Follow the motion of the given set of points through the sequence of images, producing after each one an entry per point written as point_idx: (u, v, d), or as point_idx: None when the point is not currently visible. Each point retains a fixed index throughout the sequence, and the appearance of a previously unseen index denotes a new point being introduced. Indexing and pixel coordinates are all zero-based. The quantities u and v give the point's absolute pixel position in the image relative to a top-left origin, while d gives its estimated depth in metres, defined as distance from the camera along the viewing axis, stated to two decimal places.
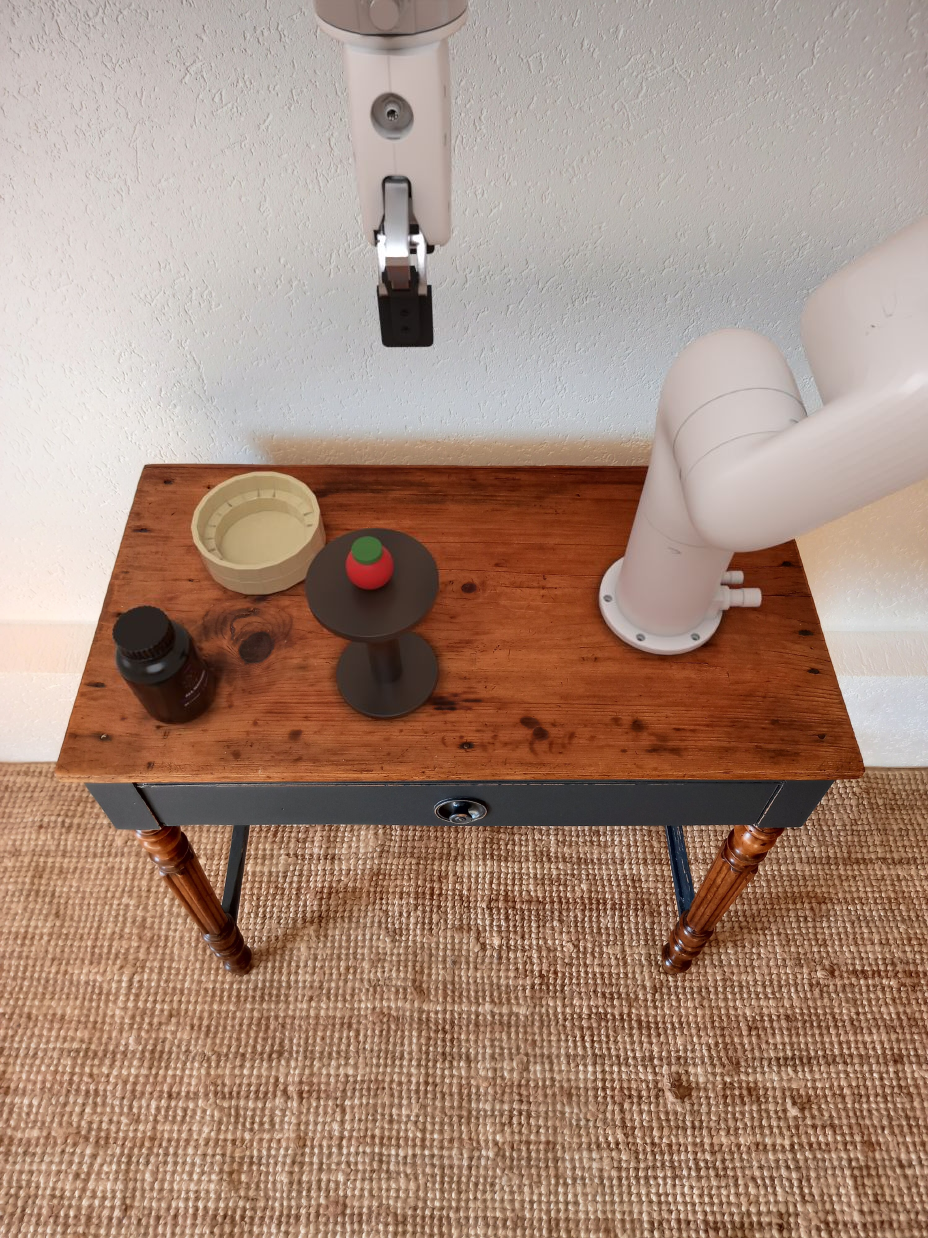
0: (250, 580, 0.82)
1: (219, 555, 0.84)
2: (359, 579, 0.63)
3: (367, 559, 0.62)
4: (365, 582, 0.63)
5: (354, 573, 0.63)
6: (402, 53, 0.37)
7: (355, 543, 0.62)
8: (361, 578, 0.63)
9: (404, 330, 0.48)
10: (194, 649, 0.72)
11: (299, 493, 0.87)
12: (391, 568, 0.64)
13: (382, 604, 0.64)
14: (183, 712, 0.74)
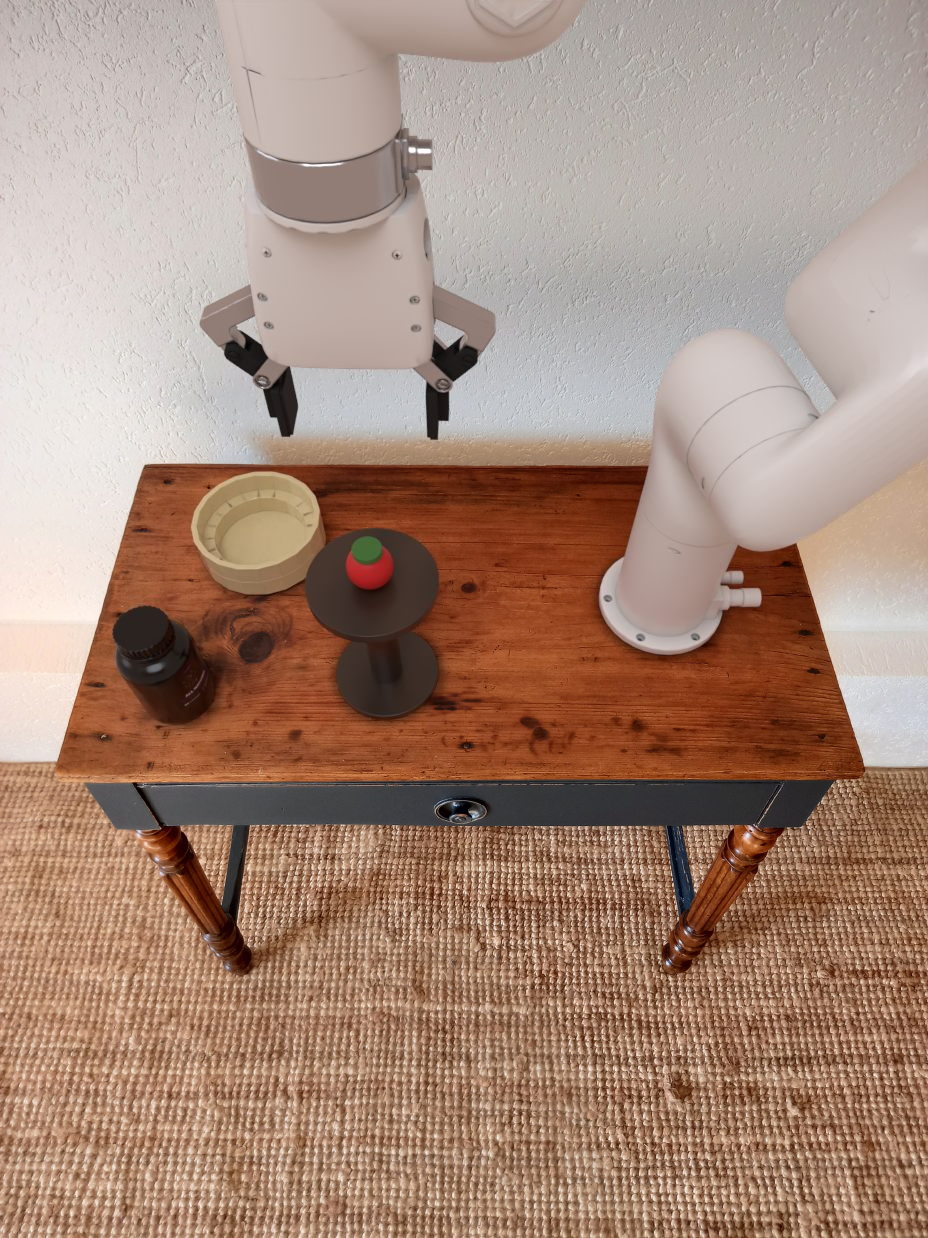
0: (250, 580, 0.82)
1: (219, 555, 0.84)
2: (359, 579, 0.63)
3: (367, 559, 0.62)
4: (365, 582, 0.63)
5: (354, 573, 0.63)
6: (414, 186, 0.41)
7: (355, 543, 0.62)
8: (361, 578, 0.63)
9: None
10: (194, 649, 0.72)
11: (299, 493, 0.87)
12: (391, 568, 0.64)
13: (382, 604, 0.64)
14: (183, 712, 0.74)
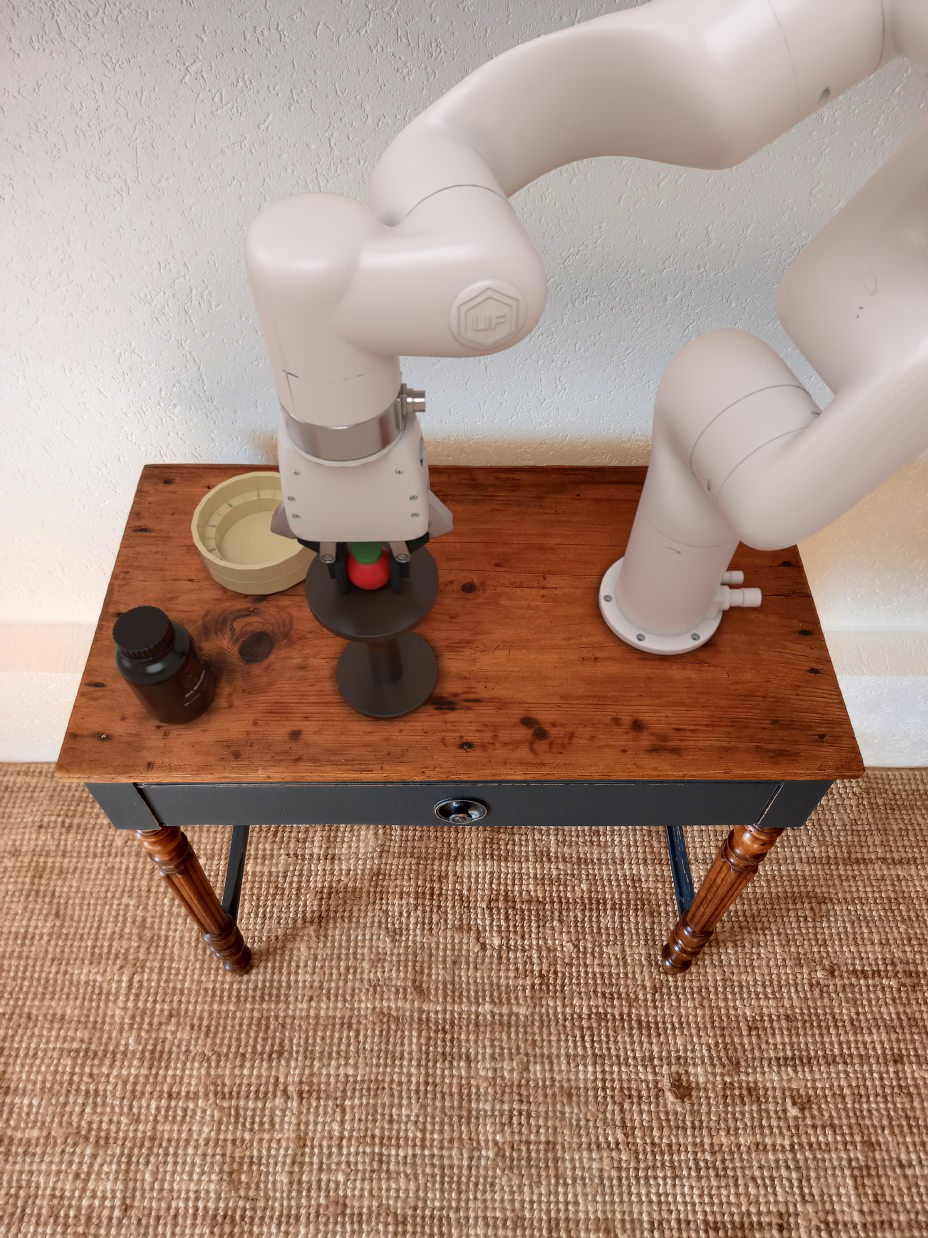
0: (250, 580, 0.82)
1: (219, 555, 0.84)
2: (359, 579, 0.63)
3: (367, 559, 0.62)
4: (365, 582, 0.63)
5: (354, 573, 0.63)
6: (411, 417, 0.52)
7: (355, 543, 0.62)
8: (361, 578, 0.63)
9: (408, 567, 0.64)
10: (194, 649, 0.72)
11: None
12: None
13: (382, 604, 0.64)
14: (183, 712, 0.74)
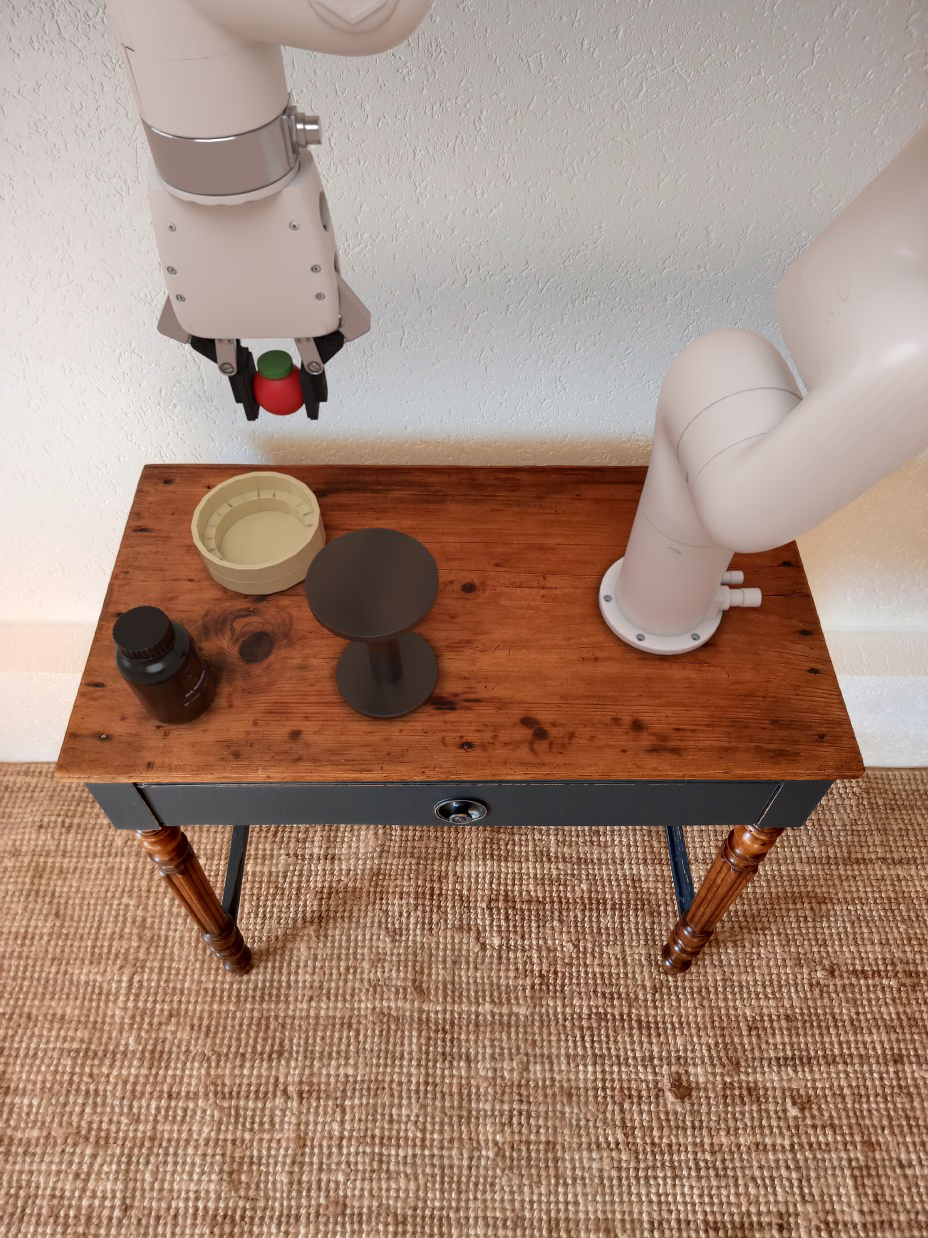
0: (250, 580, 0.82)
1: (219, 555, 0.84)
2: (267, 399, 0.55)
3: (274, 372, 0.54)
4: (274, 402, 0.55)
5: (261, 392, 0.55)
6: (307, 161, 0.44)
7: (261, 356, 0.54)
8: (269, 396, 0.55)
9: (325, 388, 0.56)
10: (194, 649, 0.72)
11: (299, 493, 0.87)
12: None
13: (382, 604, 0.64)
14: (183, 712, 0.74)
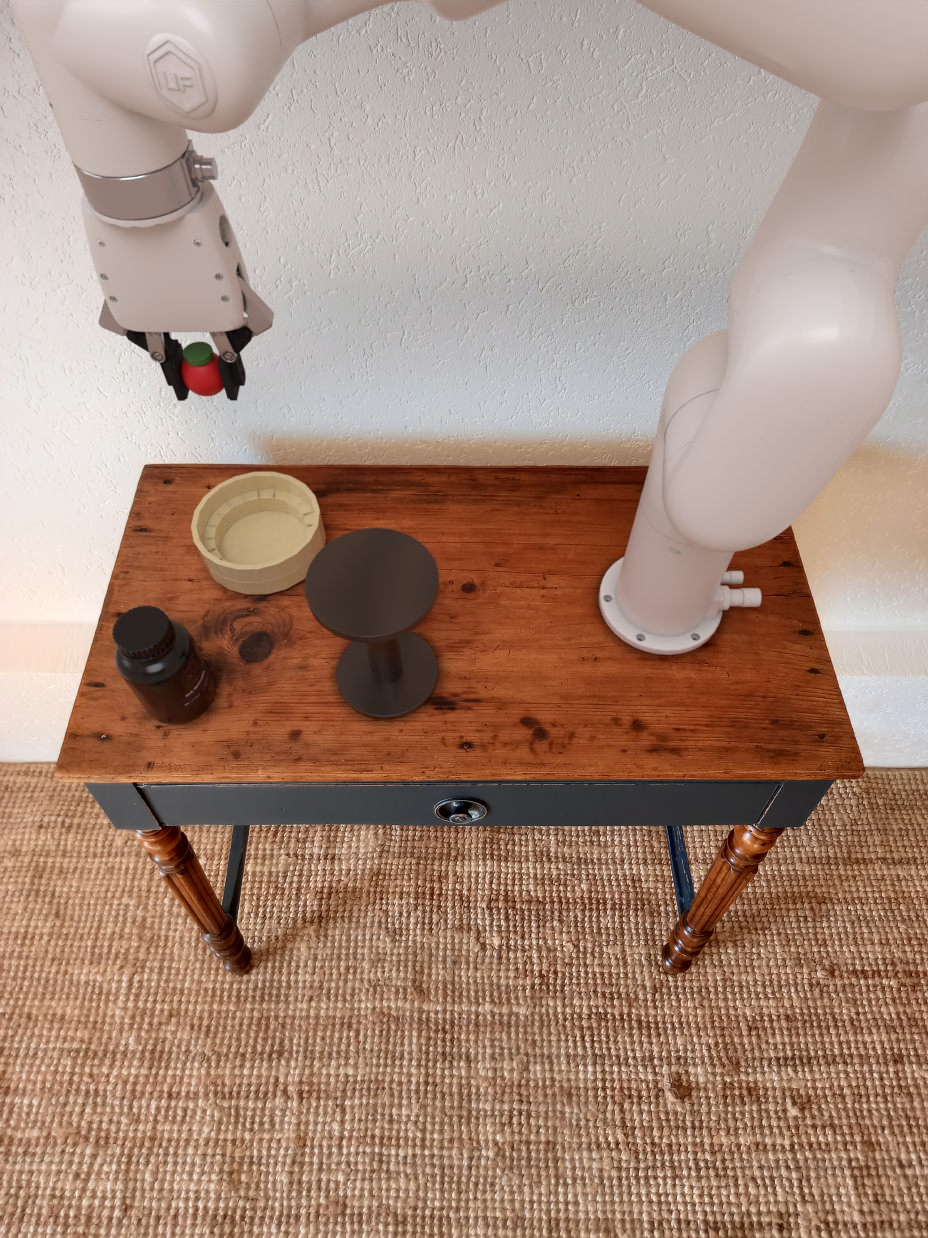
0: (250, 580, 0.82)
1: (219, 555, 0.84)
2: (191, 382, 0.66)
3: (196, 359, 0.65)
4: (198, 385, 0.66)
5: (187, 376, 0.66)
6: (209, 191, 0.55)
7: (186, 346, 0.66)
8: (193, 380, 0.66)
9: (242, 374, 0.68)
10: (194, 649, 0.72)
11: (299, 493, 0.87)
12: None
13: (382, 604, 0.64)
14: (183, 712, 0.74)
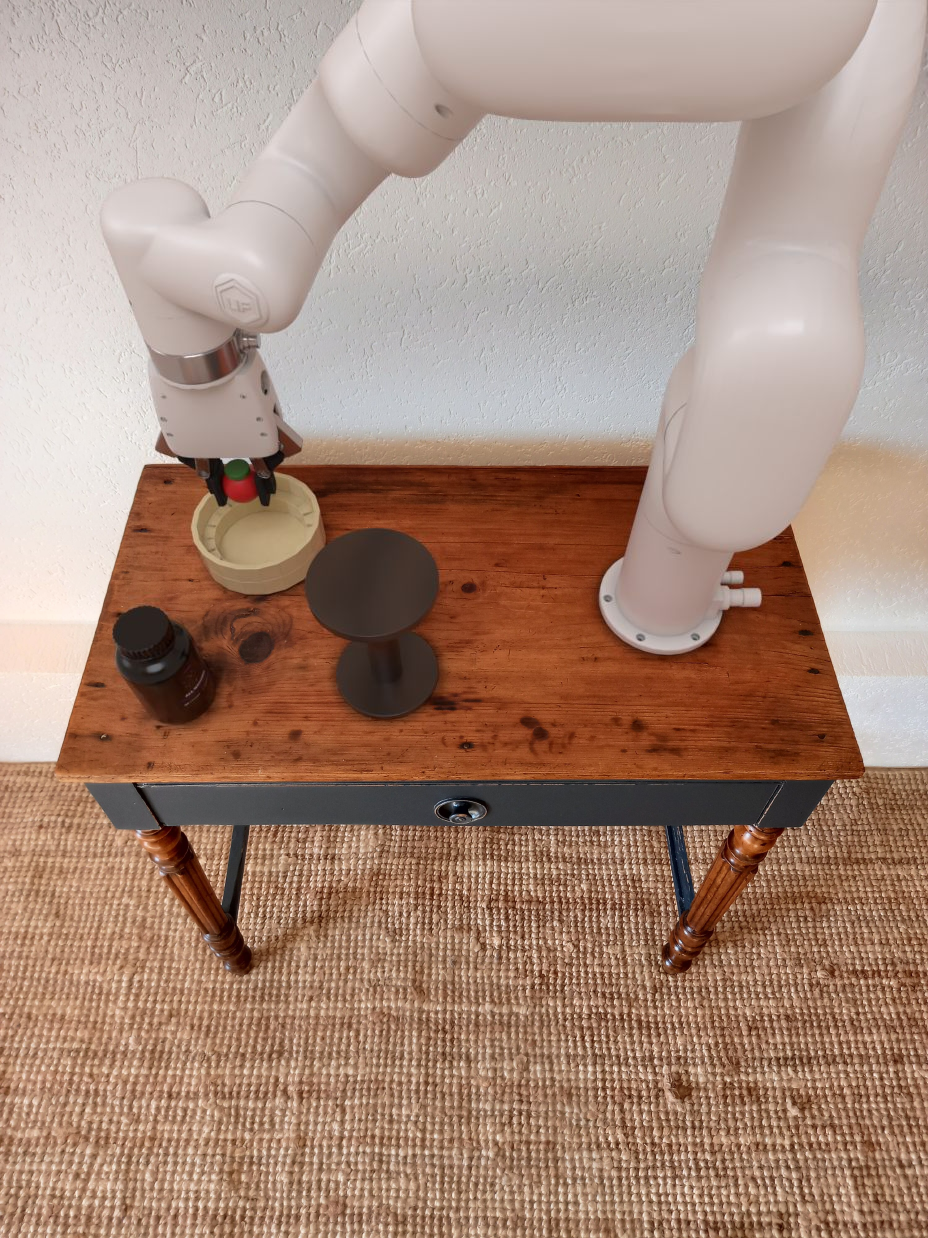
0: (250, 580, 0.82)
1: (219, 555, 0.84)
2: (231, 493, 0.78)
3: (236, 476, 0.77)
4: (236, 496, 0.78)
5: (227, 488, 0.78)
6: (252, 354, 0.67)
7: (227, 464, 0.77)
8: (233, 492, 0.78)
9: (273, 484, 0.79)
10: (194, 649, 0.72)
11: (299, 493, 0.87)
12: None
13: (382, 604, 0.64)
14: (183, 712, 0.74)
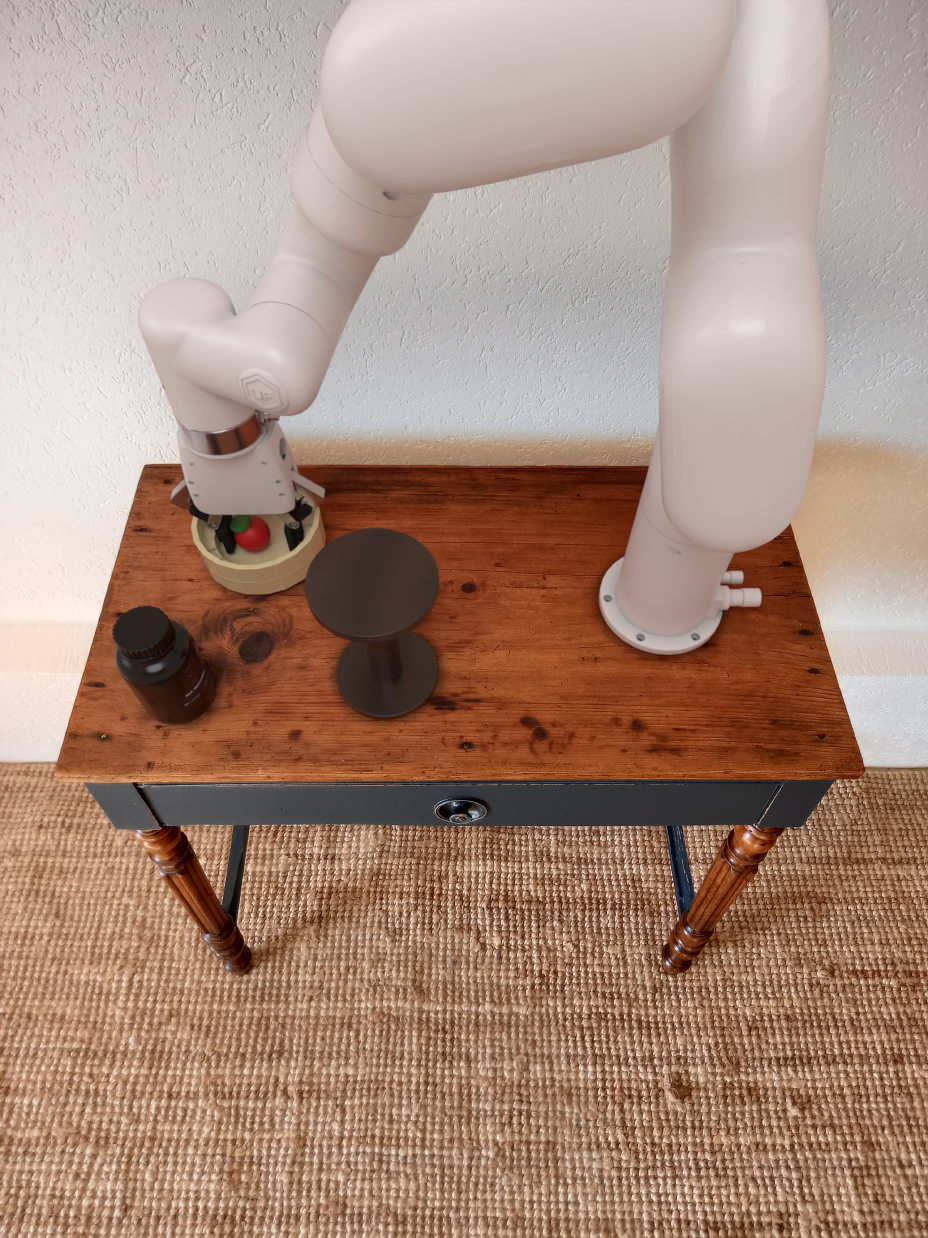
0: (250, 580, 0.82)
1: (219, 555, 0.84)
2: (242, 545, 0.85)
3: (238, 529, 0.83)
4: (247, 546, 0.85)
5: (238, 542, 0.85)
6: (272, 424, 0.74)
7: (232, 520, 0.85)
8: (242, 543, 0.84)
9: (301, 533, 0.86)
10: (194, 649, 0.72)
11: None
12: (263, 531, 0.85)
13: (382, 604, 0.64)
14: (183, 712, 0.74)
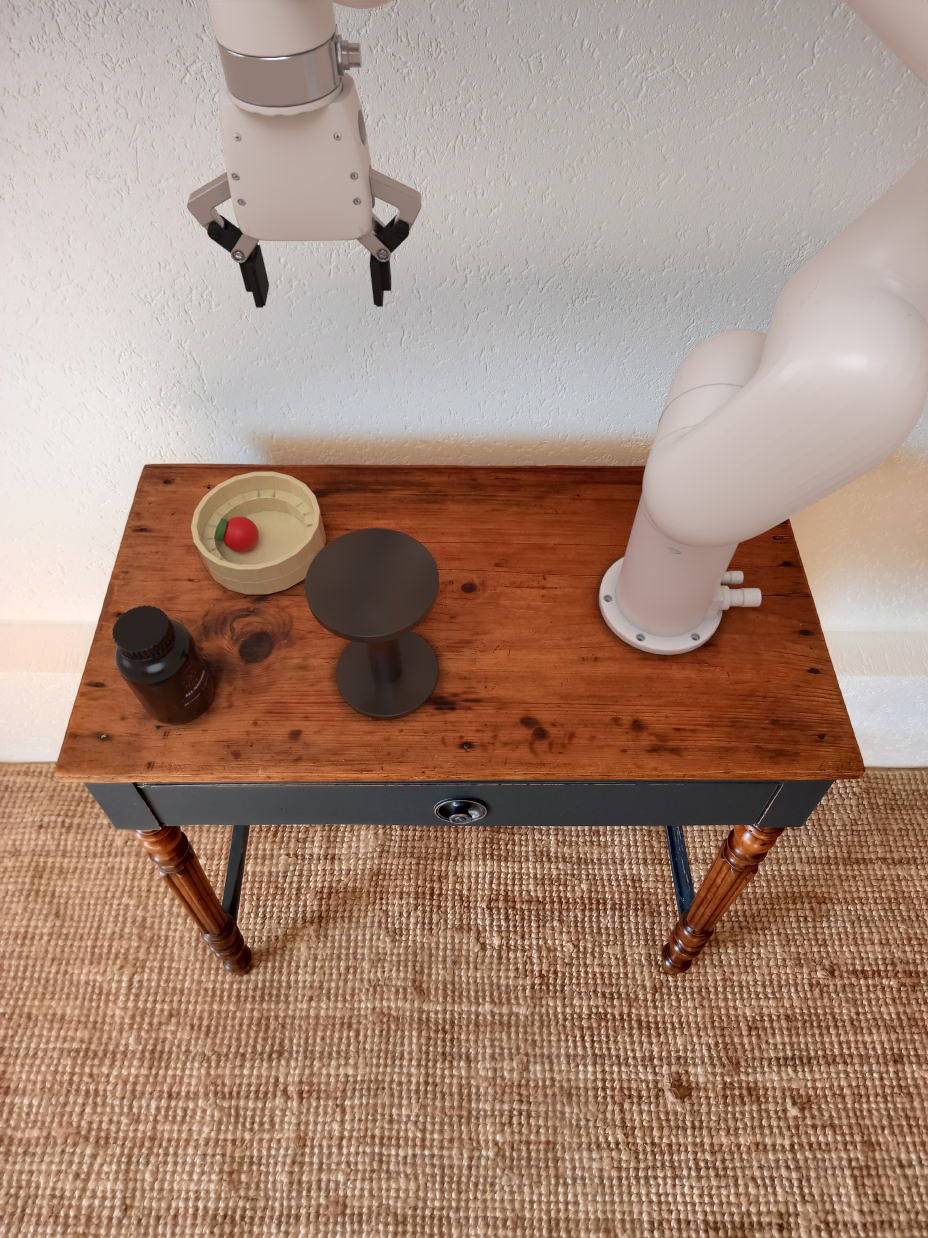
0: (250, 580, 0.82)
1: (219, 555, 0.84)
2: (232, 549, 0.85)
3: (217, 536, 0.84)
4: (235, 548, 0.85)
5: None
6: (349, 83, 0.53)
7: (217, 530, 0.86)
8: (230, 548, 0.85)
9: (389, 278, 0.65)
10: (194, 649, 0.72)
11: (299, 493, 0.87)
12: (240, 528, 0.84)
13: (382, 604, 0.64)
14: (183, 712, 0.74)
